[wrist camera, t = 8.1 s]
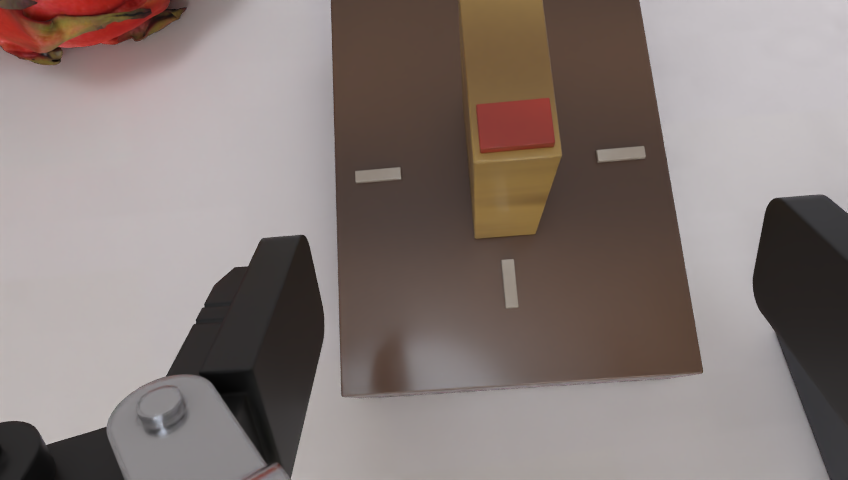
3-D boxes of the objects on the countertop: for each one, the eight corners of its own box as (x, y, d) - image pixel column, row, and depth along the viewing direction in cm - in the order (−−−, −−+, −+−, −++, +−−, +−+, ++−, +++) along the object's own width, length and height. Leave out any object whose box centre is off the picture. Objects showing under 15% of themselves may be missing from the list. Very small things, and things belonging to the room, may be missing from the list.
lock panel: (347, 46, 24) (329, -6, 21) (614, 20, 24) (635, -38, 21) (360, 398, 21) (339, 397, 18) (671, 378, 20) (706, 372, 17)
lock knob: (462, 100, 20) (456, -33, 14) (520, 95, 20) (539, -43, 14) (474, 239, 19) (473, 159, 13) (535, 234, 19) (564, 151, 13)
